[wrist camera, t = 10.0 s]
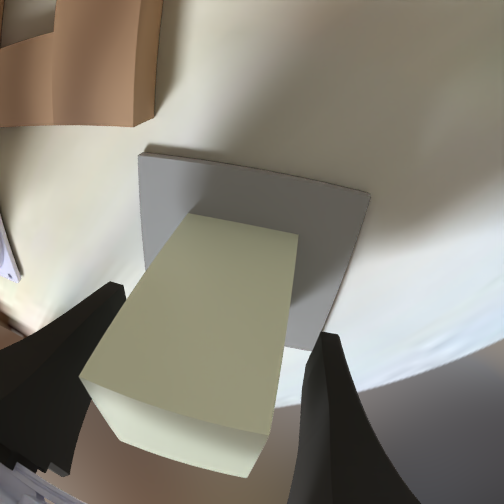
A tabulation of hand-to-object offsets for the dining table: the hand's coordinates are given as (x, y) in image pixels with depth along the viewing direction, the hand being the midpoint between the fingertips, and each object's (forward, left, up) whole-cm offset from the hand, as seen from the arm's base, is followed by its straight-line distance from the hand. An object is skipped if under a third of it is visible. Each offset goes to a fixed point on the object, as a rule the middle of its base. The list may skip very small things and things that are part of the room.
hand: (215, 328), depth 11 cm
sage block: (0, 0, -3) cm, 4 cm away
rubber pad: (0, 0, -4) cm, 4 cm away
